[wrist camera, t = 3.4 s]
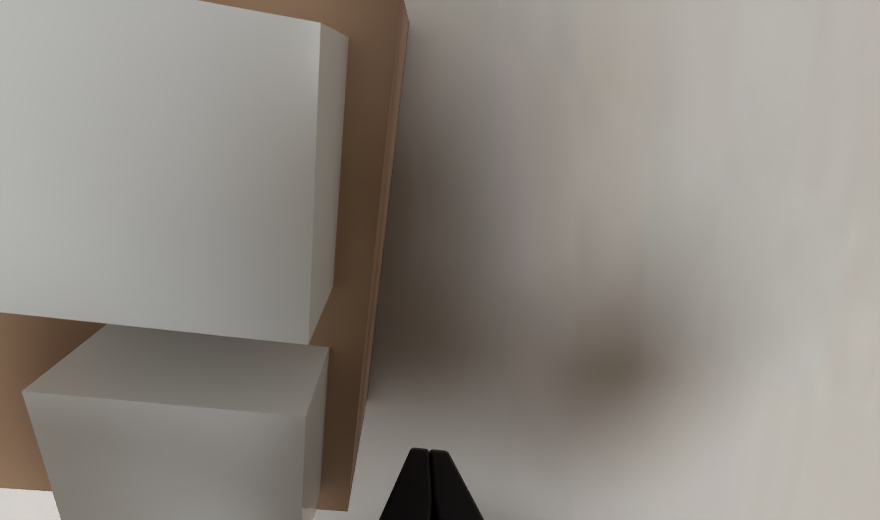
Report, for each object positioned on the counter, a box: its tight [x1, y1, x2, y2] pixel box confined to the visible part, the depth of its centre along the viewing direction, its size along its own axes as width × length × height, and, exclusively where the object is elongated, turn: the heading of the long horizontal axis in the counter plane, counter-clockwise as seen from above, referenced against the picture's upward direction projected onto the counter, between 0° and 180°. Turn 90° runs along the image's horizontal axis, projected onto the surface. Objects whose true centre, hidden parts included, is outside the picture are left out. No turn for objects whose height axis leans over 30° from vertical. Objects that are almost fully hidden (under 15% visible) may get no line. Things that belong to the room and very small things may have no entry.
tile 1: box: [22, 324, 329, 520], centre depth 9 cm, size 4×4×2 cm
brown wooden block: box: [0, 0, 409, 511], centre depth 10 cm, size 10×12×4 cm
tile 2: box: [0, 0, 349, 345], centre depth 6 cm, size 4×4×2 cm
